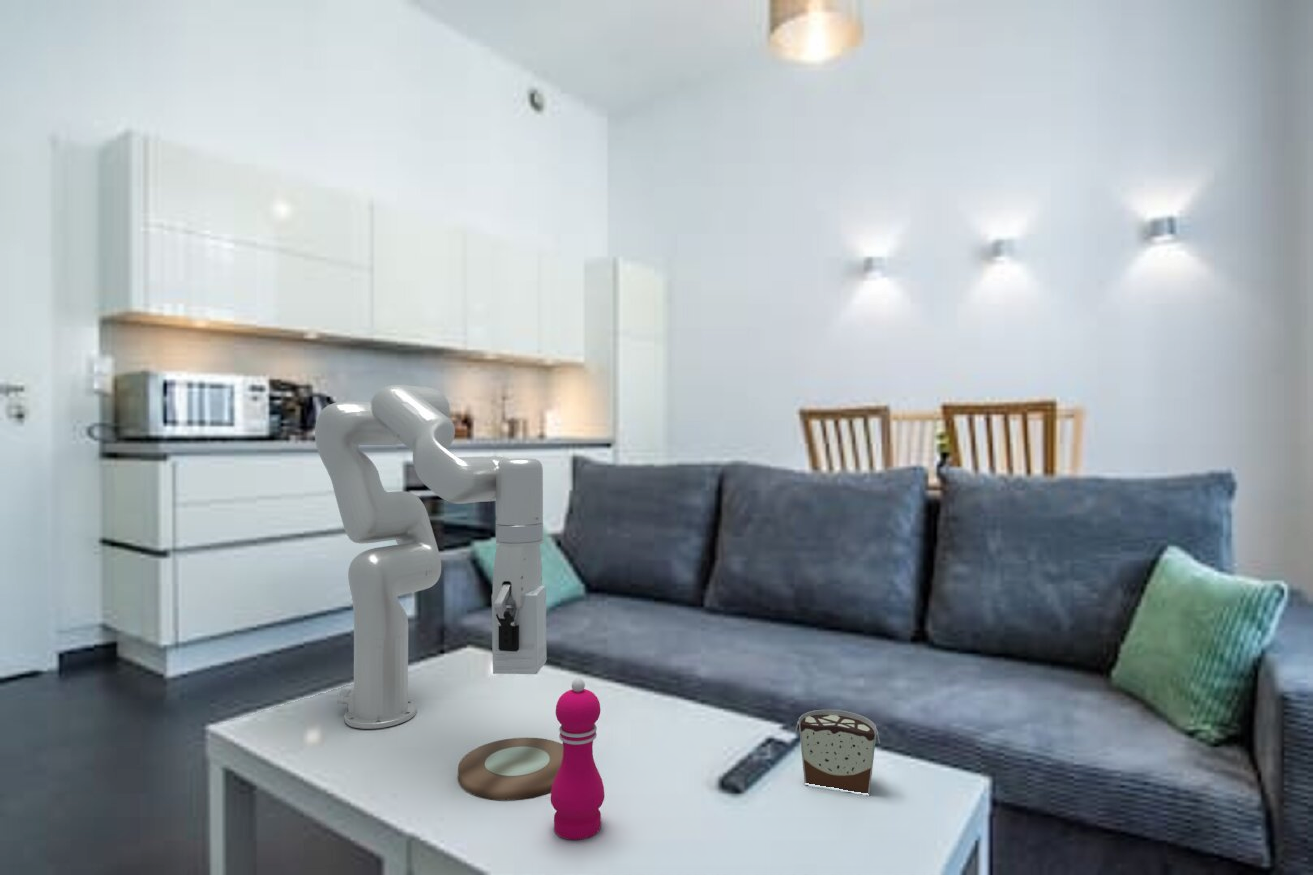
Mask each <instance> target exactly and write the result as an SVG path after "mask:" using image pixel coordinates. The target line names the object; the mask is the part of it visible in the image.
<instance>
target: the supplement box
mask: <svg viewBox="0 0 1313 875" xmlns="http://www.w3.org/2000/svg"><path fill="white" fill-rule="evenodd" d="M546 594H547V588H546V585H542V586H540V587H538V588H536V589H535V590H533V591H531V592H529V593H527V594H526V595H525V597H524V605H523V607H522V608H521V609H519V615H518V620H517V624H516V625H519V650H518V651H516V652H514V651H500V650H499V626H498V624H497V621H498V619H497V616H496V614H497V613H496V611H495V608H494V606H493V604H492V603H491V624H492V625H491V629H492V630H491V631H492V632H491V640H492V641H491V643H492V646H491V647H492V649H491V650H492V651H491V652H492V653H491V654H492V674H493V675H495V674H496V675H497V674H498V675H499V674H501V675H502V674H503V675H505V674H507V675H538V673H539V672H540V670H541V669H542V668H543V667H544V665H545V664H546V662H547V660H548V659H547V595H546ZM506 605H516V600H514V599H513V597H512V595H510V596H509V599H508V601H507V603H506ZM507 611H509V613H510V614H511V616H512V614H513V611H512V610H507Z"/></svg>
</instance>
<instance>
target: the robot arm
mask: <svg viewBox="0 0 1313 875" xmlns="http://www.w3.org/2000/svg"><path fill="white" fill-rule="evenodd" d="M450 410H451V408H450V403H449V401H448V398H447V397H446V396H445V395H444V394H443V392H442V391H440V390H439V389H436V388H434V387H430V386H418V385H410V384H409V385H407V384H392V385H391V384H390V385H387V386H384V387H382V388H380V389H379V390H377V392H376V393H374V395H373V396H372V399H371V401H362V400H361V401H360V400H358V401H357V400H348V401H347V400H346V401H345V400H344V401H339V402H334V403H333V402H332V403H331V404H328V405H327V406H325V407H323V409H322V410H321V411H320V412H319V415H318V417H317V419H316V421H315V426H314V428H315V429H314V440H315V445H316V449H317V452H318V454H319V457H320V459H321V461H322V464H323V466H324V467H325V469H326V471H327V474H328V476H329V477H330V481H331V484H332V488H333V492H334V496H335V499H336V503H337V508H338V510H339V514H340V518H341V523H342V525H343V529H344V531H345V533H346V536H347V537H348V539H349V540H350V541H351V542H353V543H356V544H360V545H361V544H374V543H381V542H383V543H384V542H388V541H395V542H396V544H393V545H387V546H380V547H374V548H370V549H367V550H365V551H362V552H360V553H359V554H358V555H356V556H355V557H354V558H353V559H352V560H351V561H350V564H349V567H348V573H347V575H348V578H347V579H348V585H349V590H350V595H351V600H352V607H353V608H352V609H353V610H352V611H353V689H349V688H348V689H347V688H343V689H341V690H340V691H339V696H338V697H337V700H336V702H337V704H339V705H340V704H341V705H346V704H347V706H348V709H347V710H346V711H345V713H344V716H343V717H344V723H345V724H346V725H347V726H349V727H351V728H356V729H361V730H362V729H363V730H375V729H376V730H377V729H384V728H389V727H393V726H397V725H400V724H403V723H405V722H407V721H409V720H411V719H412V718H413V717H414V716H415V715H416V714H417V709H418V708H417V704H416V703H415V702H414V701H412V700H410V699H408V698H409V617H408V614H407V612H406V610H405V608H404V606H402V604H401V602H400V601H399V599H398V597H399V596H403V595H406V594H411V593H415V592H420V591H424V590H427V589H430V588H431V587H433V586H434V585H435V584H437V582H438V581H439V579H440V577H441V574H442V560H441V555H440V554H441V553H440V551H439V548H438V544H437V541H436V537H435V534H434V531H433V528H432V524H431V520H430V518H429V513H428V511H427V509H426V506H425V504H424V503H423V501H422V500H421V499H420V498H419V497H418V496H417V495H415V494H414V493H412V492H409V491H405V490H404V491H403V490H402V491H399V490H398V491H386V490H385V488H384V487H383V484H382V481H381V478H380V477H381V476H380V473H379V471H378V469H377V467H376V465H375V464H374V462H373V461H372V460H371V459H370V457H368V455H366V453H365V452H363V451H362V450H361V449H360V446H397V445H402V444H403V445H404V446H406V447H407V448H408V449H409V450H410V451H411V452H412V462H413V467H414V471H415V472H416V475H417V477H418V479H419V481H420V482H422V484H424V486H426V487H427V488H428V489H429V490H430V491H431V492H432V493H434V495H437V497H439V498H441V499H442V500H444V501H446V502H449V503H451V504H457V505H461V504H464V505H465V504H471V503H472V504H473V503H480V502H483V503H484V502H495V545H496V548H495V553H494V554H495V555H494V562H493V574H492V575H493V576H492V592H491V605H492V604H493V606H494V608H495V611H496V613H497V614H496V616H497V619H498V621H497V624H498V626H499V650H500V651H514V652H516V651H518V650H519V625H516V624H517V620H518V615H519V609H521V608H522V607H523V605H524V597H525V595H526V594H527V593H529V592H531V591H533V590H535V589H536V588H538V587H540V586H543V571H542V570H543V566H542V552H541V551H542V550H541V544H543V543H544V489H543V488H544V481H543V480H544V478H543V477H544V470H543V469H544V468H543V464H542V462H541V461H540V460H538V459H536V458H528V457H527V458H525V457H524V458H523V457H522V458H521V457H520V458H518V457H516V458H515V457H514V458H509V457H504V456H503V457H502V456H463V457H462V456H461V457H459V456H457V455H455V454H453V453H452V452H450V451H449V450H448V449H450V447H451V445H452V443H453V441H454V439H455V435H456V428H455V425H454V423H453V421H452V419H451V418H450V415H451V414H450V412H451V411H450ZM510 595H512V597H513V599H514V600H516V605H506V603H507V601H508V599H509V596H510ZM507 610H512V611H513V614H512V616H511V614H510V613H509V611H507Z"/></svg>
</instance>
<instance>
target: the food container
mask: <svg viewBox="0 0 1313 875" xmlns="http://www.w3.org/2000/svg"><path fill="white" fill-rule="evenodd" d="M798 730H799V731H798ZM796 732H799V740H800V748H801V749H800V750H801V760H802V768H803V769H802V770H803V779H804V784H805V783H809V784H815V785H820V786H826V787H834V788H839V789H843V790H848V791H854V792H861V793H868V794H869V795H870V792H871V786H872V785H871V782H872V776H873V766H874V758H875V757H874V756H875V749H876V743H877V742H876V741H877V740H878V744H881V740H880V736H879V731H878V729H877V726H876V724H875V723H874V722H873V721H872V720H870V719H869V718H868V717H865V716H863V715H860V714H858V713H854V712H849V711H847V710H846V711H845V710H840V709H839V710H838V709H818V710H812V711H808V712H805V713H803V714H801V716H800V717H798V720H797V721H796V726H795V733H796Z"/></svg>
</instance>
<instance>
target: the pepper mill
mask: <svg viewBox="0 0 1313 875" xmlns="http://www.w3.org/2000/svg"><path fill="white" fill-rule="evenodd" d="M585 686H586V684H585V681H584V680H583V679H581V678H579V677H578V678H575V679H574V680H573V681H572V682H571V688H572V689H569V690H567V691H565V692H564V693H562V694H561V696H560V697H559V698H558V700H557V702H556V706H555V717H556V719H557V721H558V723H559V724H560V726H559V728H558V731H559V735H558V738H559V740H560V741H561V742H562V744H563V758H562V762H561V766H560V768H559V770H558V772H557V774H556V777H555V779H554V782H553V785H552V789H551V792H550V803H551V805H552V807H553V809H554V810H555V813H554V815H553V819H554V820H553V830H554V832H555V833H556V835H558V836H559V837H560V838H563V839H566V840H575V841H577V840H584V839H588V838H591V837H593V836H594V835H596V834H597V833H598V832H599V831H600V829H601V823H602V822H601V821H602V820H601V818H602V815H601V814H602V813H601V811H600V808H601V807H602V806H603V803H604V801H605V787H604V782H603V780H602V777H601V773H600V772H599V770H598V767H597V766H596V762H595V760H594V755H593V752H594V751H593V747H594V740H595V739H597V734H598V733H597V730H598V728H597V725H596V722H597V721H598V719H599V718H600V715H601V703H600V700H599V697H598V696H597V695H596V694H595V693H594V692H592V691H591V690H589V689H586V688H585Z"/></svg>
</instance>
